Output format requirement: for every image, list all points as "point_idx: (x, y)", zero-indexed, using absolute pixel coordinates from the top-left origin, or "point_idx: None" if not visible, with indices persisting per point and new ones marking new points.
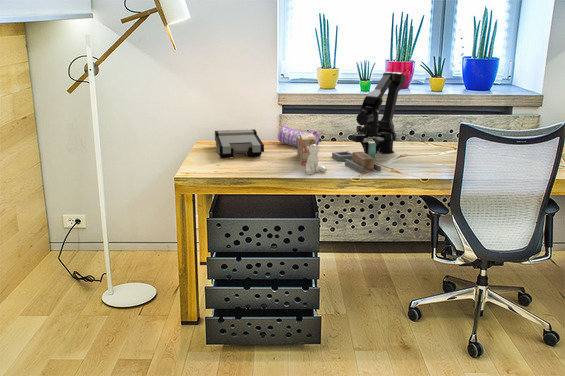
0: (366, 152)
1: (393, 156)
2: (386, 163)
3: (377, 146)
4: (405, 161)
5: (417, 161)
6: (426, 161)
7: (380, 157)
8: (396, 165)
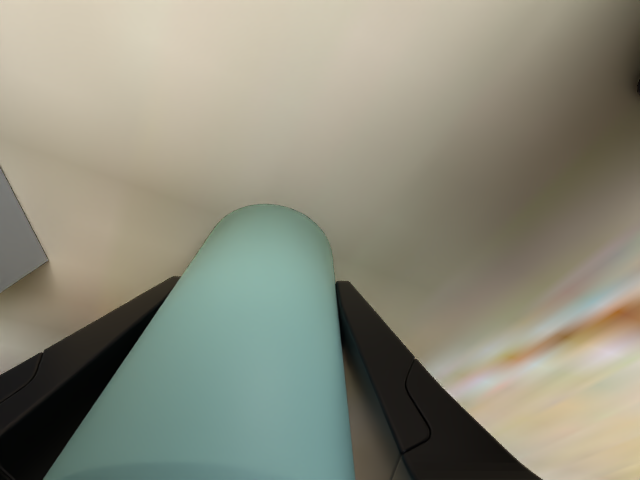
0: None
1: (572, 289)
2: None
3: (358, 473)
4: (487, 430)
5: (558, 447)
6: (606, 459)
7: (404, 276)
8: None
